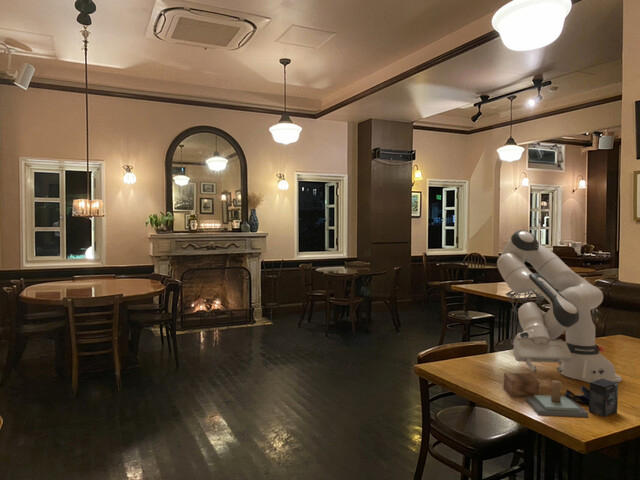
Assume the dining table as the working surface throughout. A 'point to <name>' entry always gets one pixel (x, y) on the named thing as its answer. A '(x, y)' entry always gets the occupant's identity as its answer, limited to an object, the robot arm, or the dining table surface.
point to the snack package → (579, 398)
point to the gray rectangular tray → (542, 411)
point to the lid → (556, 399)
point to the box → (603, 397)
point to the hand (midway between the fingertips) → (547, 371)
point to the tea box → (521, 384)
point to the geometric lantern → (523, 303)
